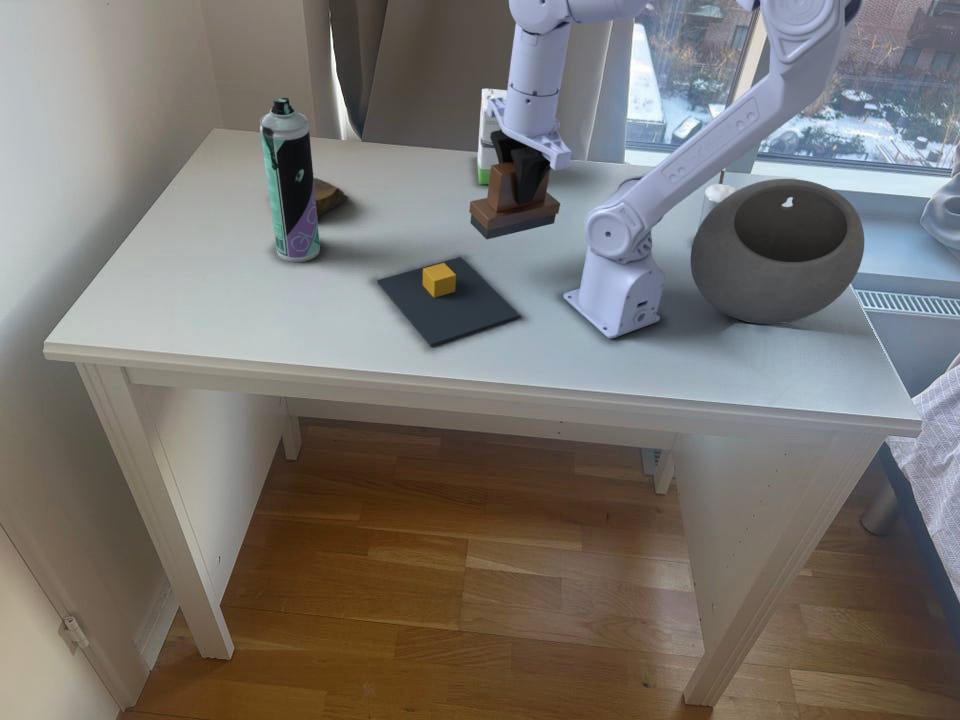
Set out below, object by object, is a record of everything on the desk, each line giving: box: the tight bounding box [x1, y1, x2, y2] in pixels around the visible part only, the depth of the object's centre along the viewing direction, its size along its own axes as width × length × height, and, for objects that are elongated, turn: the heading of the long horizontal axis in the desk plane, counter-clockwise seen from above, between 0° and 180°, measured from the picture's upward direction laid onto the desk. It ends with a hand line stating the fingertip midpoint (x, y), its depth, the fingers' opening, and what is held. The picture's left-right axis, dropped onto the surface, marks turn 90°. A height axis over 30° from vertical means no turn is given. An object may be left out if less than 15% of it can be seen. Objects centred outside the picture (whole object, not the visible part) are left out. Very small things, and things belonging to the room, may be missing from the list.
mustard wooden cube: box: [423, 263, 456, 298], centre depth 91 cm, size 3×3×2 cm
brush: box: [468, 161, 561, 240], centre depth 90 cm, size 10×4×8 cm, turn 121°
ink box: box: [476, 88, 507, 185], centre depth 113 cm, size 9×5×12 cm, turn 2°
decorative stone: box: [313, 177, 349, 218], centre depth 105 cm, size 10×9×4 cm
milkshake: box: [697, 170, 739, 230], centre depth 101 cm, size 4×5×10 cm
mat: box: [376, 256, 520, 348], centre depth 90 cm, size 14×12×1 cm
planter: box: [690, 178, 865, 325], centre depth 85 cm, size 18×7×19 cm, turn 78°
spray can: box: [259, 97, 321, 263], centre depth 90 cm, size 6×6×20 cm
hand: (517, 195), depth 90 cm, fingers closed on brush, 2 cm apart
